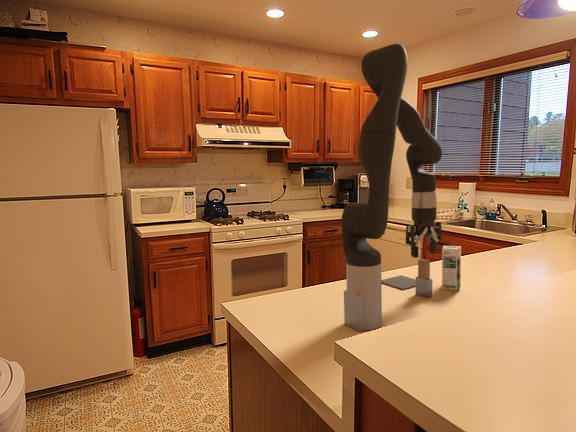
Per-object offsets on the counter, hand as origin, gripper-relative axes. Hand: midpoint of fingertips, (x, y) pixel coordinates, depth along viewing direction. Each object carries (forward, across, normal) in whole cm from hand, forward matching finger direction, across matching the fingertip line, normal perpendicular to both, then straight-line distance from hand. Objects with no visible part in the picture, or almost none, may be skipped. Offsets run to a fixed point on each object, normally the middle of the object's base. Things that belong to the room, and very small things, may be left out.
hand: (424, 255), depth 121 cm
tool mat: (+14, +5, +14) cm, 20 cm away
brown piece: (+14, 0, 0) cm, 14 cm away
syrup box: (+14, +14, 0) cm, 20 cm away
